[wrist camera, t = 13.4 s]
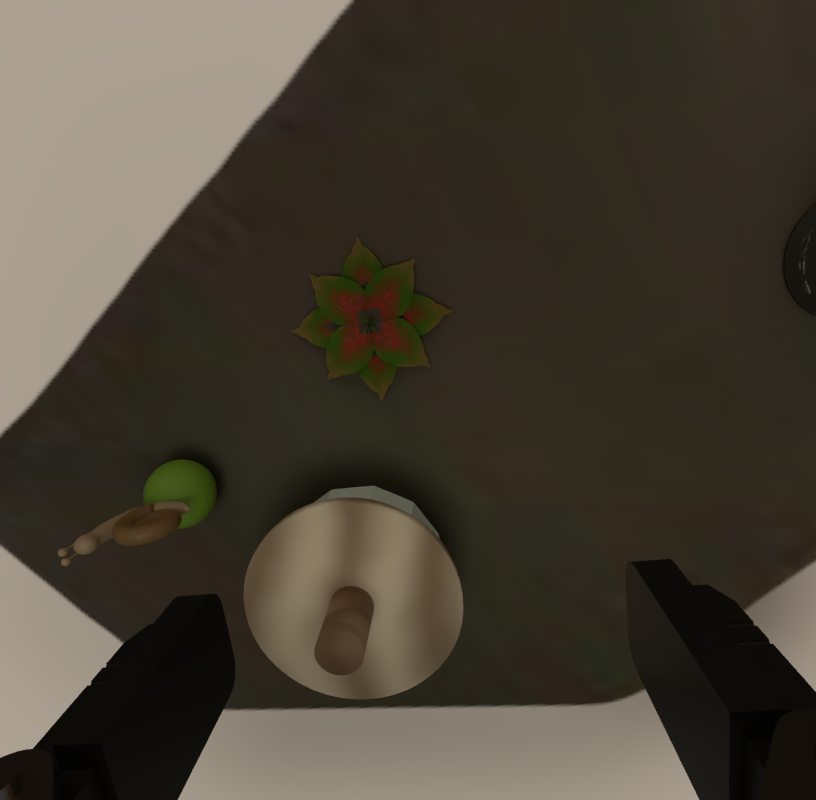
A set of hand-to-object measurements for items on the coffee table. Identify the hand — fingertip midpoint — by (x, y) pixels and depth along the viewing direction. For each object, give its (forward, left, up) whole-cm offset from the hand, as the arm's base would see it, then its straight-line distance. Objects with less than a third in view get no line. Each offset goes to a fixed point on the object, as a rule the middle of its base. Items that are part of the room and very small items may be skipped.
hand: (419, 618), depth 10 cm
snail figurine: (+22, +8, -32) cm, 40 cm away
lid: (+8, +16, -26) cm, 31 cm away
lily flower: (+5, -4, -33) cm, 33 cm away
